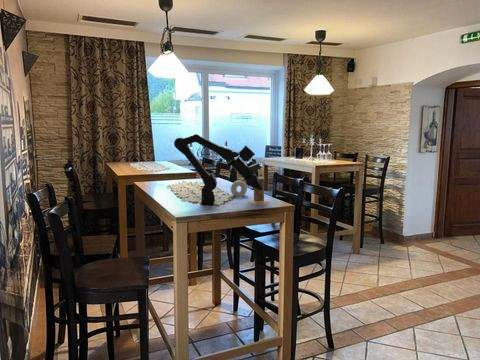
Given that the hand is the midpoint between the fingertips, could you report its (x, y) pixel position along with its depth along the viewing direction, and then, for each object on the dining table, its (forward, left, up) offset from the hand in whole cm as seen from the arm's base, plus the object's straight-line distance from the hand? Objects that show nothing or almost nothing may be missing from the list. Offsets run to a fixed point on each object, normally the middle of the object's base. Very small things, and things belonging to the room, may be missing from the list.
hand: (261, 189), depth 203 cm
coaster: (-1, 0, -8) cm, 8 cm away
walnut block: (-1, 0, -6) cm, 6 cm away
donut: (-10, +19, -8) cm, 23 cm away
